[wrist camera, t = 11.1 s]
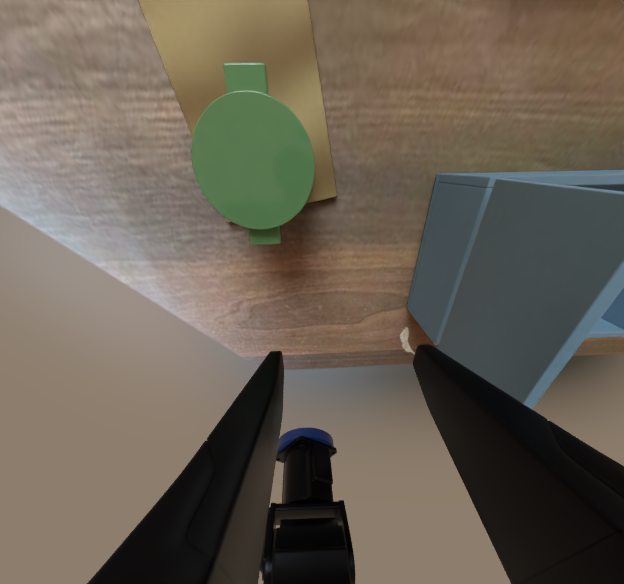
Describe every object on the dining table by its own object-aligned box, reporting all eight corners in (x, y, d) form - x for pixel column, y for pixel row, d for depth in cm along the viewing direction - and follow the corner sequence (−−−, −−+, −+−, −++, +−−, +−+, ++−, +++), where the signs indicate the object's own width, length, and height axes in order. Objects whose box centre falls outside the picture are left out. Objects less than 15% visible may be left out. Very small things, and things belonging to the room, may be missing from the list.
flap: (441, 351, 16) (436, 351, 16) (504, 178, 10) (495, 178, 11) (484, 473, 10) (475, 470, 10) (693, 198, 4) (668, 198, 4)
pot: (311, 222, 16) (315, 246, 11) (238, 224, 16) (212, 249, 11) (308, 97, 13) (314, 55, 8) (216, 97, 13) (165, 56, 8)
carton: (406, 307, 21) (434, 345, 16) (436, 173, 15) (490, 176, 11) (562, 301, 21) (629, 336, 17) (644, 169, 16) (775, 170, 12)
